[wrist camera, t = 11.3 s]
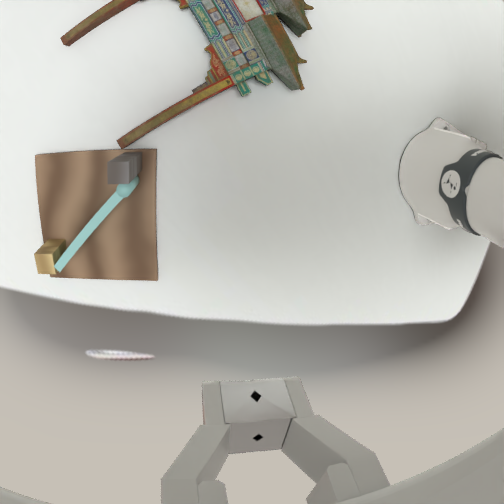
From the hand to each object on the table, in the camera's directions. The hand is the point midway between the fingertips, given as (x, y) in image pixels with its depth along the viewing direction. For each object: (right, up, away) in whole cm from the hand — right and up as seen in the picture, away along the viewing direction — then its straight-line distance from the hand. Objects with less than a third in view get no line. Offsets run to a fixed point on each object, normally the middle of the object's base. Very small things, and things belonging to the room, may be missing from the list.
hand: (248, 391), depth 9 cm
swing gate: (-21, +9, +30) cm, 38 cm away
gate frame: (-22, +9, +31) cm, 39 cm away
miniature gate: (-8, +33, +23) cm, 41 cm away
